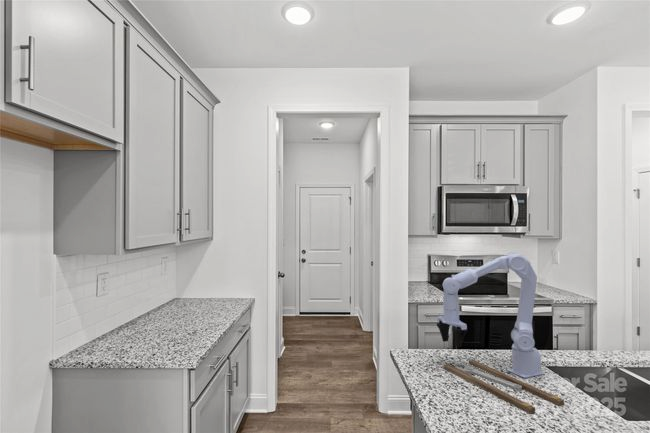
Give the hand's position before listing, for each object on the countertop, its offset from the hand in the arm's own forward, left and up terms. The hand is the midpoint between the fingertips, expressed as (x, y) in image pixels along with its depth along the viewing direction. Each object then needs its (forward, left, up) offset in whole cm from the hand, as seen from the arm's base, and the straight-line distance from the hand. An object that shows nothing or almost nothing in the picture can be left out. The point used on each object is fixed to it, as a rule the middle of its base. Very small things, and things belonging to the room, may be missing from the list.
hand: (452, 343), depth 145 cm
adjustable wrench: (-3, +13, -10) cm, 17 cm away
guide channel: (-3, +19, -9) cm, 21 cm away
